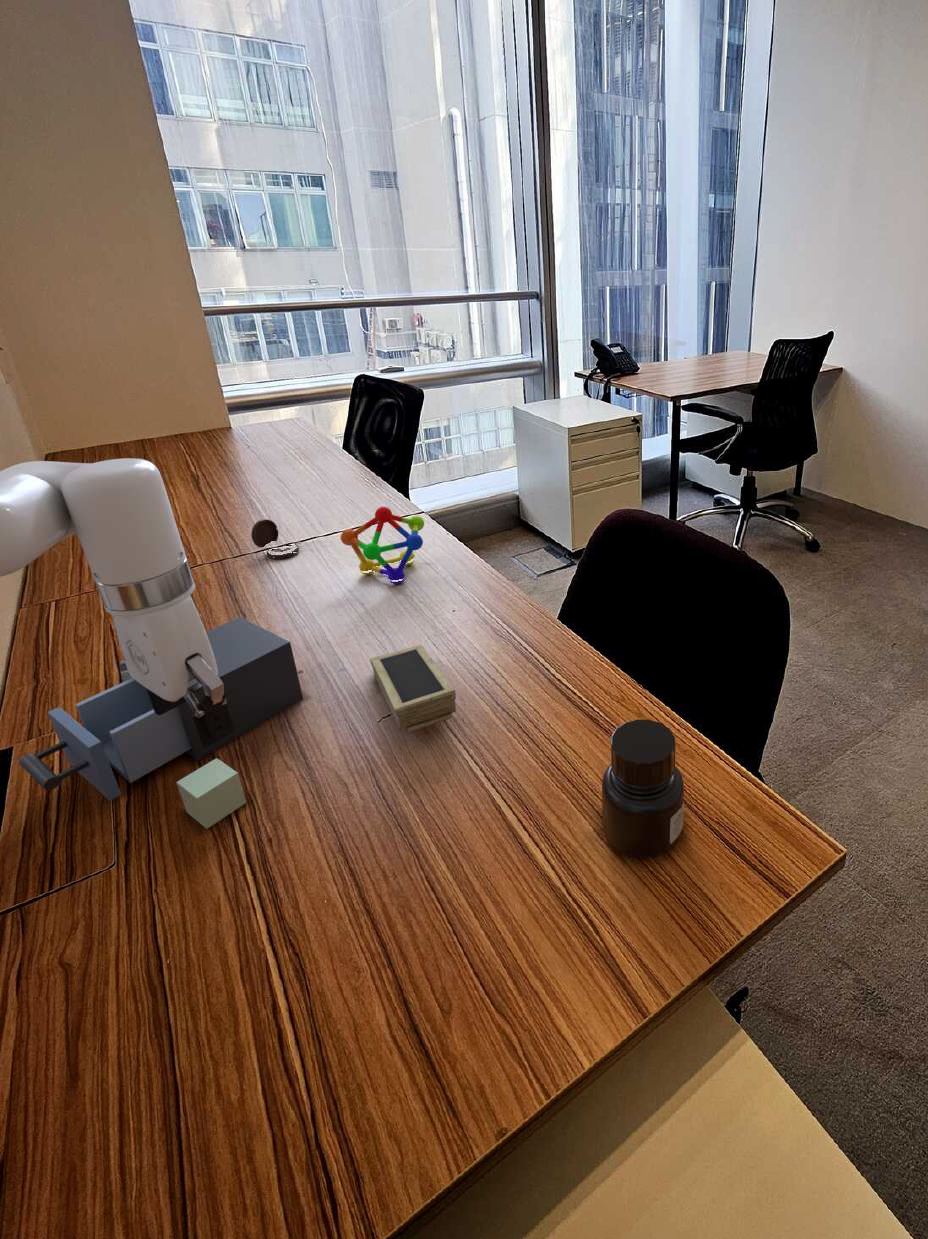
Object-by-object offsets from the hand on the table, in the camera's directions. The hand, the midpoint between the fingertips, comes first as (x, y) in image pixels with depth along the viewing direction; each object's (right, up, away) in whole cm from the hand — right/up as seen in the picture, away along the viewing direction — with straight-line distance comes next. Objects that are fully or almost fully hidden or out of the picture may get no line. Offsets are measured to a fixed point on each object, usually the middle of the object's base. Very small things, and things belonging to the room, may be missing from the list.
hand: (194, 723), depth 71 cm
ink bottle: (+49, -12, +2) cm, 50 cm away
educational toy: (+2, +11, +58) cm, 59 cm away
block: (0, -11, +4) cm, 12 cm away
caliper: (-28, -1, +30) cm, 41 cm away
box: (+16, -4, +23) cm, 29 cm away
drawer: (-15, -8, +11) cm, 20 cm away
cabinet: (-8, -5, +20) cm, 22 cm away
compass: (-26, +15, +69) cm, 75 cm away
